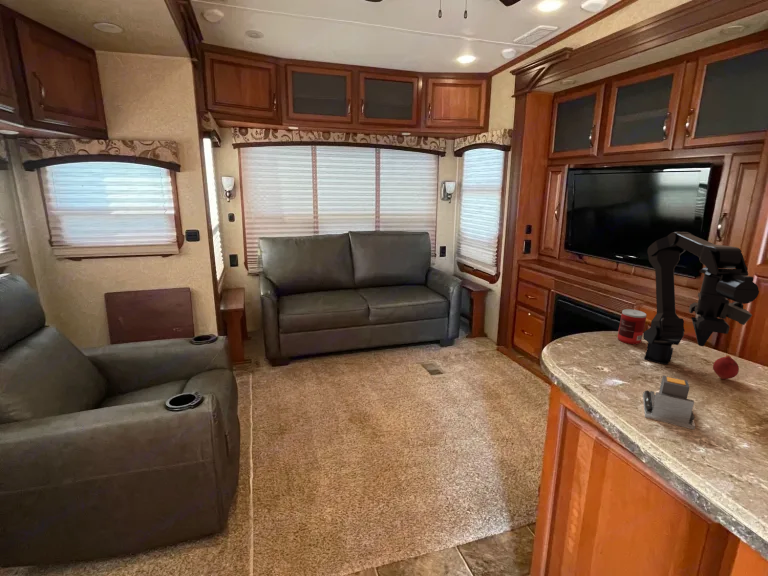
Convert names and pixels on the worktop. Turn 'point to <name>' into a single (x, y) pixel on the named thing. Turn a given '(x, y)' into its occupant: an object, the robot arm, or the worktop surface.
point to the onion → (726, 367)
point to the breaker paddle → (674, 387)
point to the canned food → (631, 326)
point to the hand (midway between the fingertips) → (700, 345)
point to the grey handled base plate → (669, 409)
